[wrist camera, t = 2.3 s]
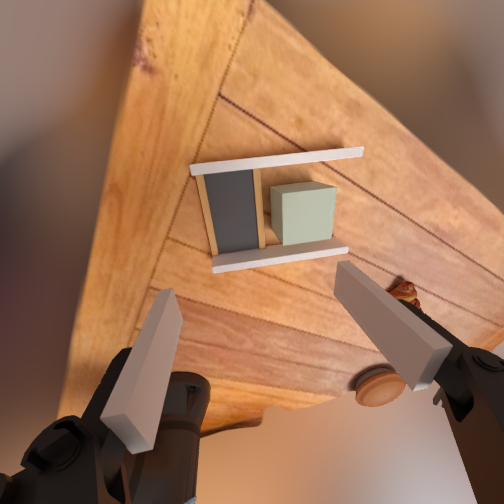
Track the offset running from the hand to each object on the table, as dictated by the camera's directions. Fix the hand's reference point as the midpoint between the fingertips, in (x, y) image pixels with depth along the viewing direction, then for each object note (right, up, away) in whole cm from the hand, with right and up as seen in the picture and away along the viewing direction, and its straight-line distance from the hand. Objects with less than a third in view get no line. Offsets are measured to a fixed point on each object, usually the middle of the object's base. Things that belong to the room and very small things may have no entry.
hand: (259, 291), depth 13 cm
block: (+6, +10, +19) cm, 22 cm away
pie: (+37, -36, +47) cm, 70 cm away
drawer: (-3, +9, +18) cm, 20 cm away
